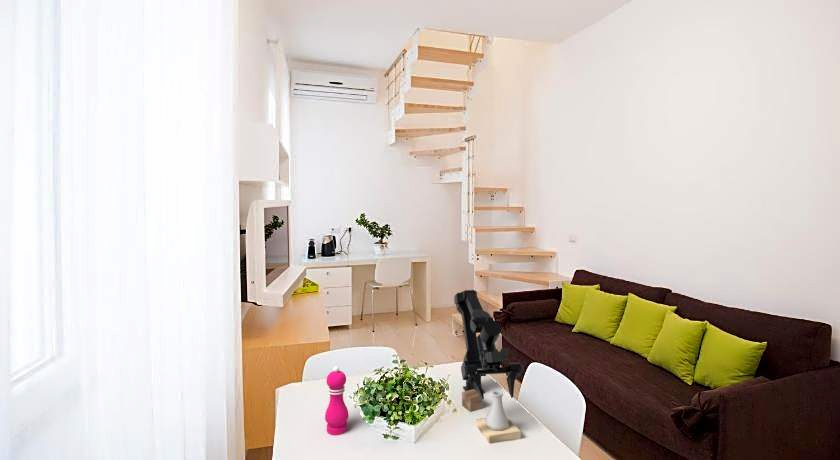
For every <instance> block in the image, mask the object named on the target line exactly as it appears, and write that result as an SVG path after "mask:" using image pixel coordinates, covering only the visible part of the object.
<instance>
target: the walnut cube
mask: <svg viewBox="0 0 840 460" xmlns="http://www.w3.org/2000/svg"><path fill="white" fill-rule="evenodd" d="M461 406H462V407H463V408H465V410H467V411H468V412H469V413H472V412H475V411H479V410H483V400H482V399H481V397H480V395H479V394H478V392H477V391H476V390H475V389H472V390H468V391H465V390H464V391H462V392H461Z"/></svg>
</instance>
